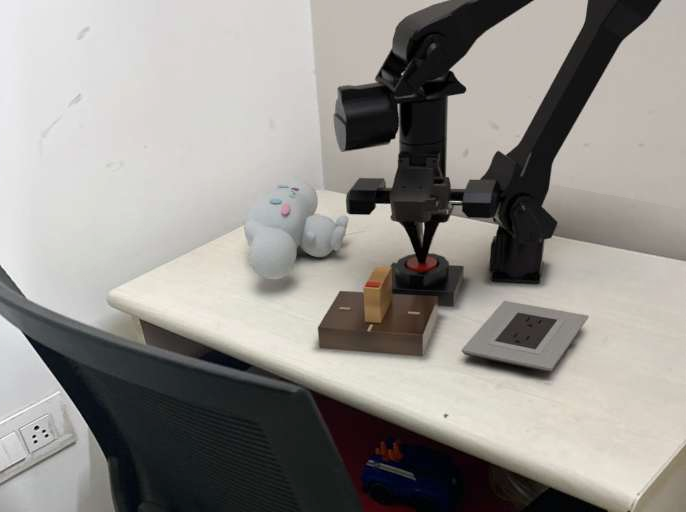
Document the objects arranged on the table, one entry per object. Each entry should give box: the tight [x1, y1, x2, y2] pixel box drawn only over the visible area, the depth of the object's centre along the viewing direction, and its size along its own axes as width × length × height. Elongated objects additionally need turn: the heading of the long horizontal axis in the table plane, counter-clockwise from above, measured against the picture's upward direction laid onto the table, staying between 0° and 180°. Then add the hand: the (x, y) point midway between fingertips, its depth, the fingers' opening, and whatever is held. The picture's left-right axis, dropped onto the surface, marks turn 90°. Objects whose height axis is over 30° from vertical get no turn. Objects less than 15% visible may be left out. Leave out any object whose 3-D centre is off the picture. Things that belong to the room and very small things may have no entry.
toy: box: [243, 179, 349, 280], centre depth 116 cm, size 30×10×15 cm
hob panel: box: [317, 290, 439, 357], centre depth 97 cm, size 13×10×3 cm
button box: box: [389, 252, 465, 308], centre depth 104 cm, size 10×8×4 cm
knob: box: [363, 265, 392, 323], centre depth 94 cm, size 6×2×5 cm, turn 162°
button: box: [407, 256, 437, 272], centre depth 103 cm, size 4×4×2 cm
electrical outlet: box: [461, 300, 589, 373], centre depth 91 cm, size 13×10×2 cm
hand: (422, 262), depth 103 cm, fingers closed, pressing on button
